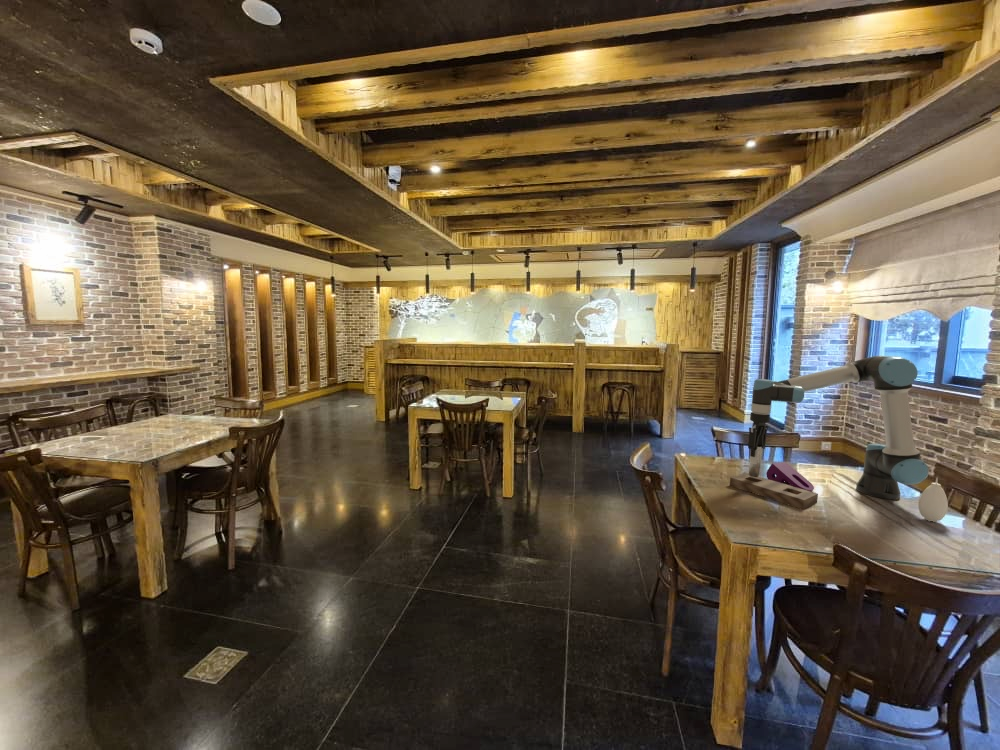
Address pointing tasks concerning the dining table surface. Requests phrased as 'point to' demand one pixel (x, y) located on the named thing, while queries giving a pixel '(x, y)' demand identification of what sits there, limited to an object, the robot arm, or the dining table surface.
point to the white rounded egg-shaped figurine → (933, 503)
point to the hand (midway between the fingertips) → (755, 462)
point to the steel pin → (755, 467)
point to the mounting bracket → (788, 476)
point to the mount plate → (774, 490)
